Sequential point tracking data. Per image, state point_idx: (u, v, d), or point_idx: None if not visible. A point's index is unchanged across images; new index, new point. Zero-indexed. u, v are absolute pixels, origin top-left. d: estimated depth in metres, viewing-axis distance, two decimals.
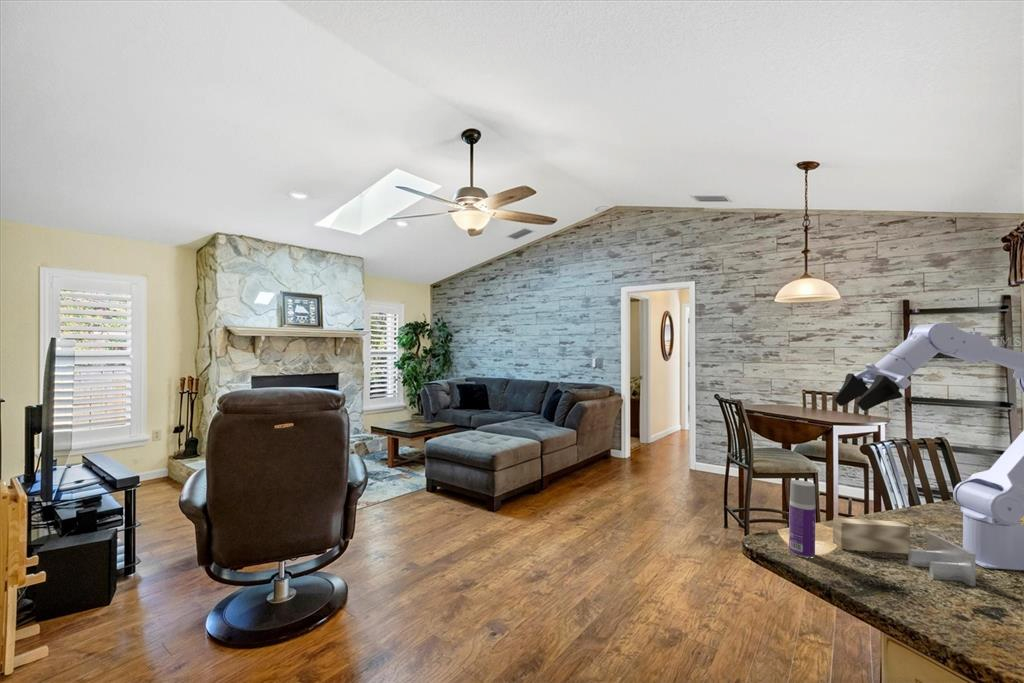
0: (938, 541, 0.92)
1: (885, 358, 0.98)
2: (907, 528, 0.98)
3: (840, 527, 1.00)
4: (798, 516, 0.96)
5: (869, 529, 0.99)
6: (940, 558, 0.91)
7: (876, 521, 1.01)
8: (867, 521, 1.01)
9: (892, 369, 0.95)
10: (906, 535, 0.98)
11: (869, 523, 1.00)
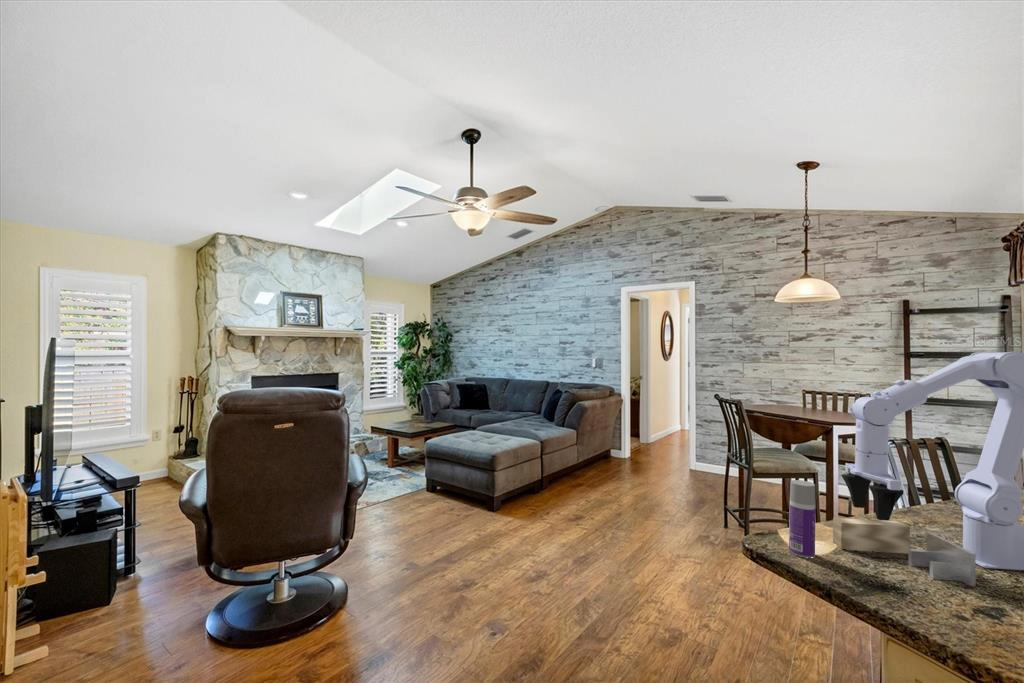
0: (938, 541, 0.92)
1: (858, 457, 1.01)
2: (907, 528, 0.98)
3: (840, 527, 1.00)
4: (798, 516, 0.96)
5: (869, 529, 0.99)
6: (940, 558, 0.91)
7: (876, 521, 1.01)
8: (867, 521, 1.01)
9: (873, 468, 0.98)
10: (906, 535, 0.98)
11: (868, 523, 1.00)
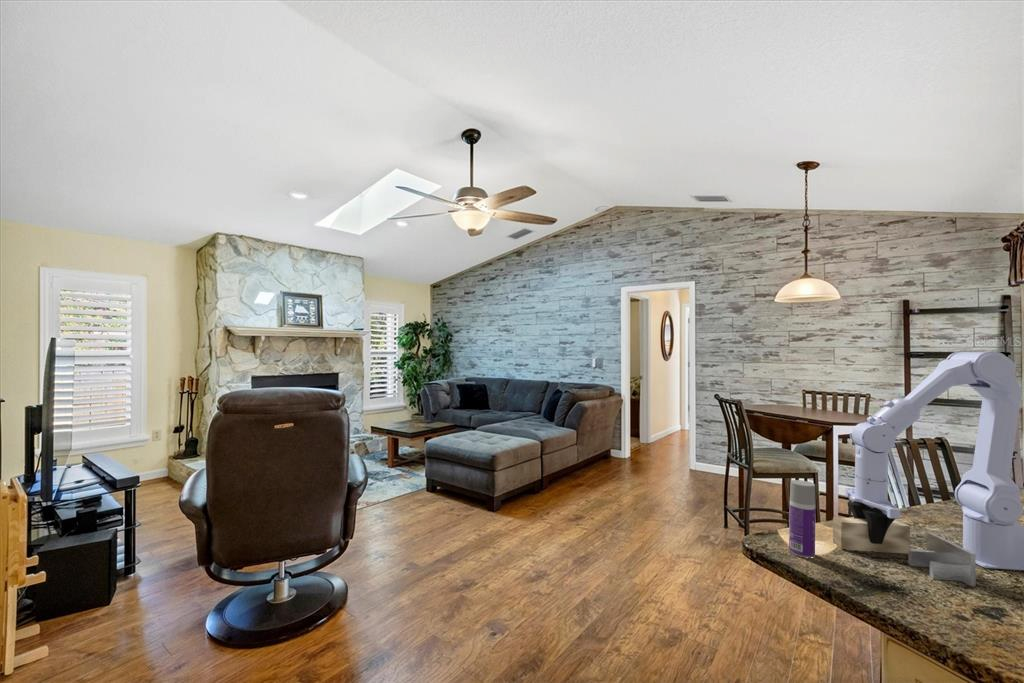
0: (938, 541, 0.92)
1: (858, 483, 1.01)
2: (907, 527, 0.98)
3: (840, 526, 1.00)
4: (798, 516, 0.96)
5: None
6: (940, 558, 0.91)
7: None
8: None
9: (873, 495, 0.98)
10: (906, 534, 0.98)
11: None
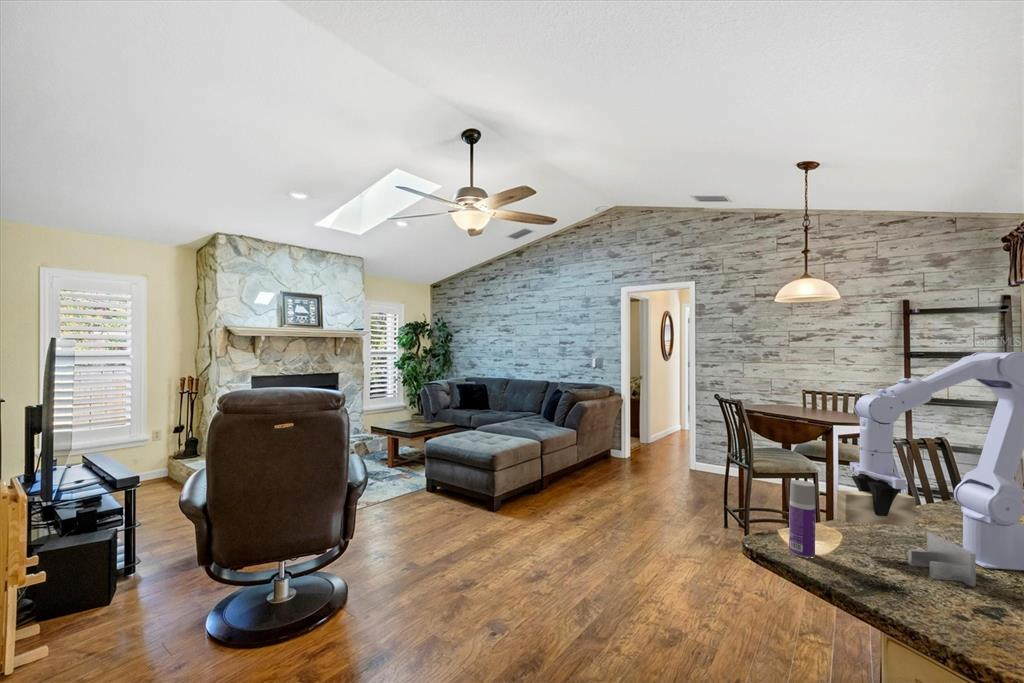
0: (938, 541, 0.92)
1: (862, 456, 0.99)
2: (913, 499, 0.97)
3: (844, 498, 0.99)
4: (798, 516, 0.96)
5: None
6: (940, 558, 0.91)
7: None
8: None
9: (878, 466, 0.97)
10: (911, 506, 0.97)
11: None
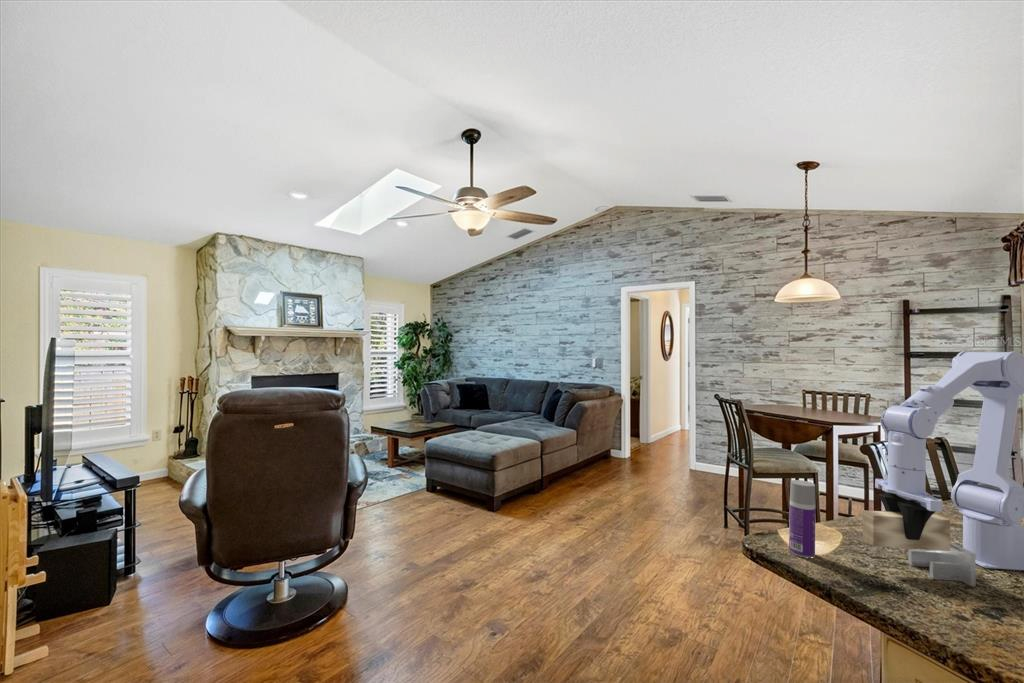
0: None
1: (892, 473, 0.91)
2: (947, 521, 0.88)
3: (872, 520, 0.90)
4: (798, 516, 0.96)
5: None
6: (940, 558, 0.91)
7: None
8: (901, 514, 0.91)
9: (909, 485, 0.88)
10: (946, 529, 0.88)
11: None
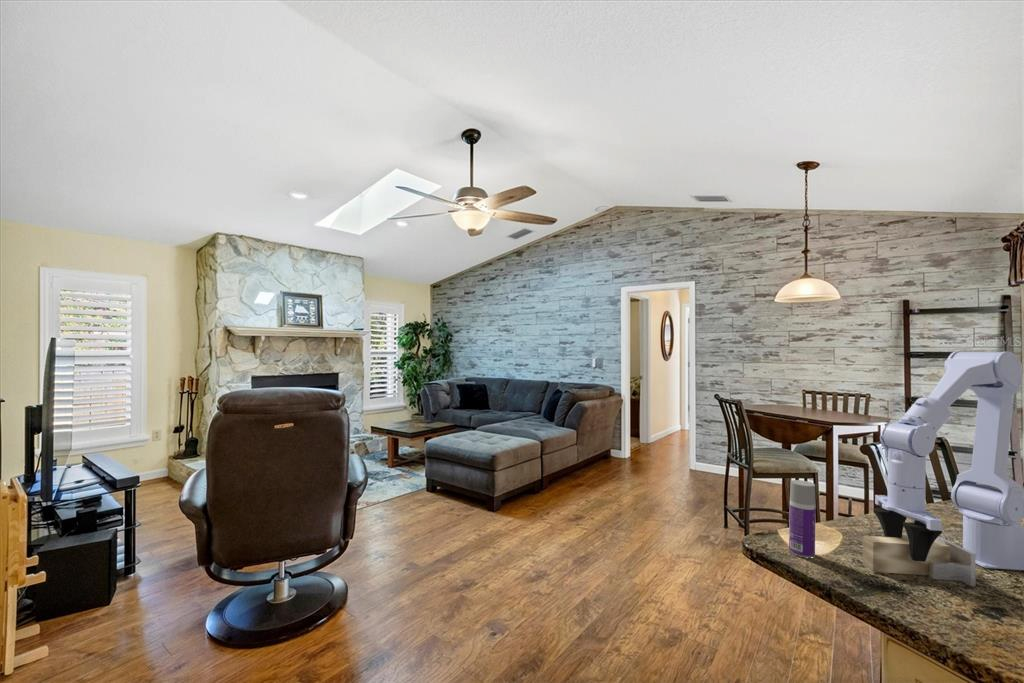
0: None
1: (891, 491, 0.91)
2: (947, 548, 0.88)
3: (872, 546, 0.90)
4: (798, 516, 0.96)
5: (904, 549, 0.89)
6: None
7: None
8: (901, 540, 0.91)
9: (909, 503, 0.88)
10: (945, 555, 0.88)
11: (903, 542, 0.90)
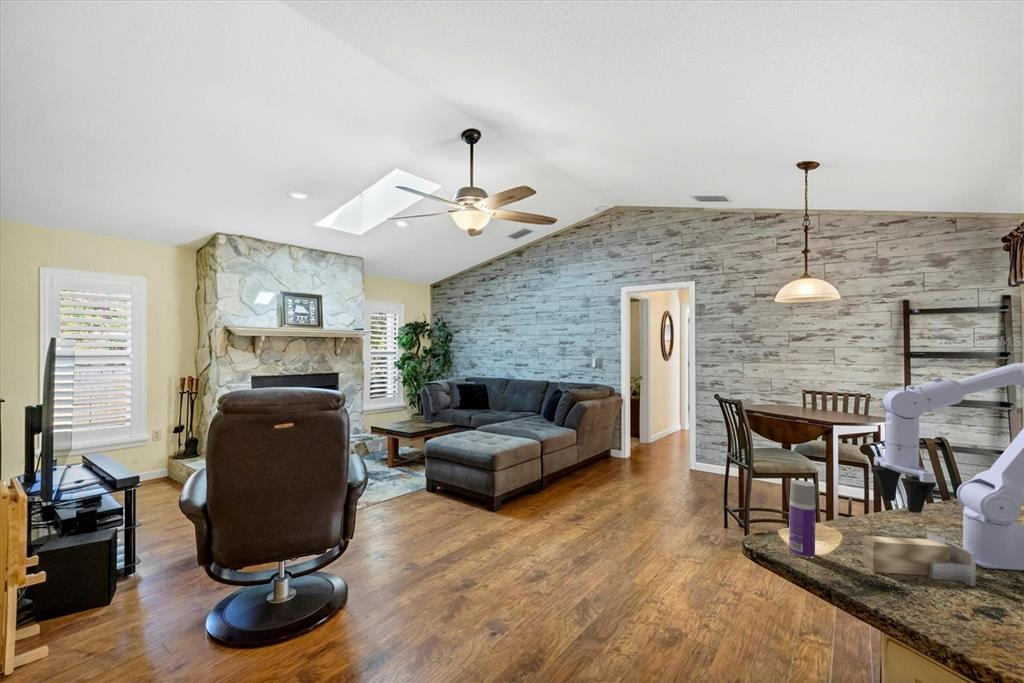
0: None
1: (889, 450, 1.01)
2: (947, 548, 0.88)
3: (872, 546, 0.90)
4: (798, 516, 0.96)
5: (904, 549, 0.89)
6: None
7: (911, 540, 0.91)
8: (901, 540, 0.91)
9: (904, 460, 0.99)
10: (945, 555, 0.88)
11: (903, 542, 0.90)
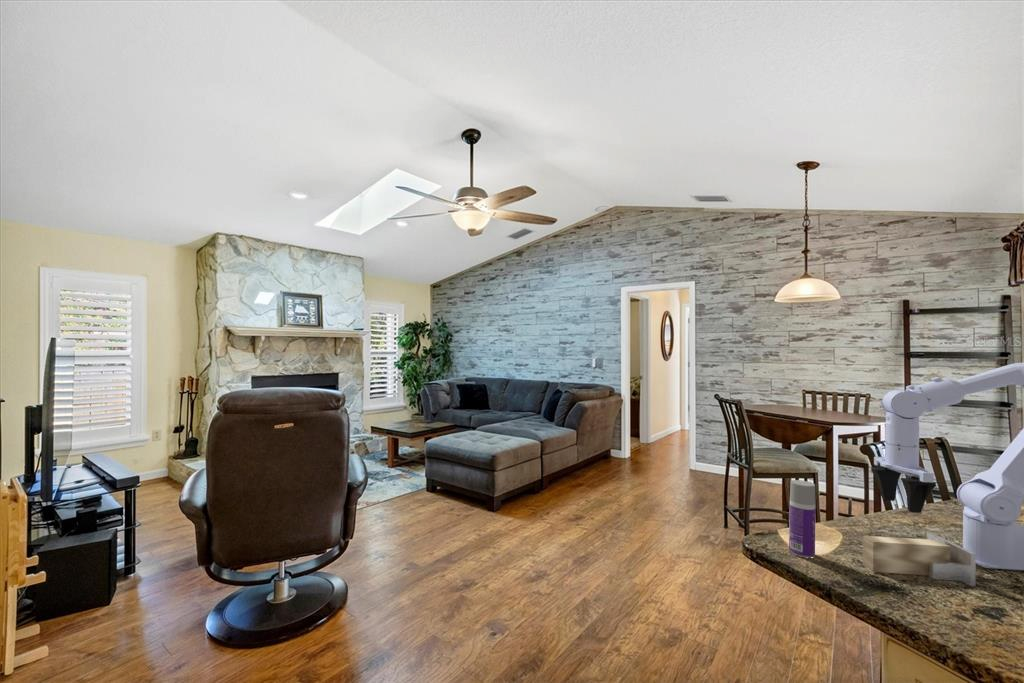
0: None
1: (889, 450, 1.01)
2: (947, 548, 0.88)
3: (872, 546, 0.90)
4: (798, 516, 0.96)
5: (904, 549, 0.89)
6: None
7: (911, 540, 0.91)
8: (901, 540, 0.91)
9: (904, 460, 0.99)
10: (945, 555, 0.88)
11: (903, 542, 0.90)
